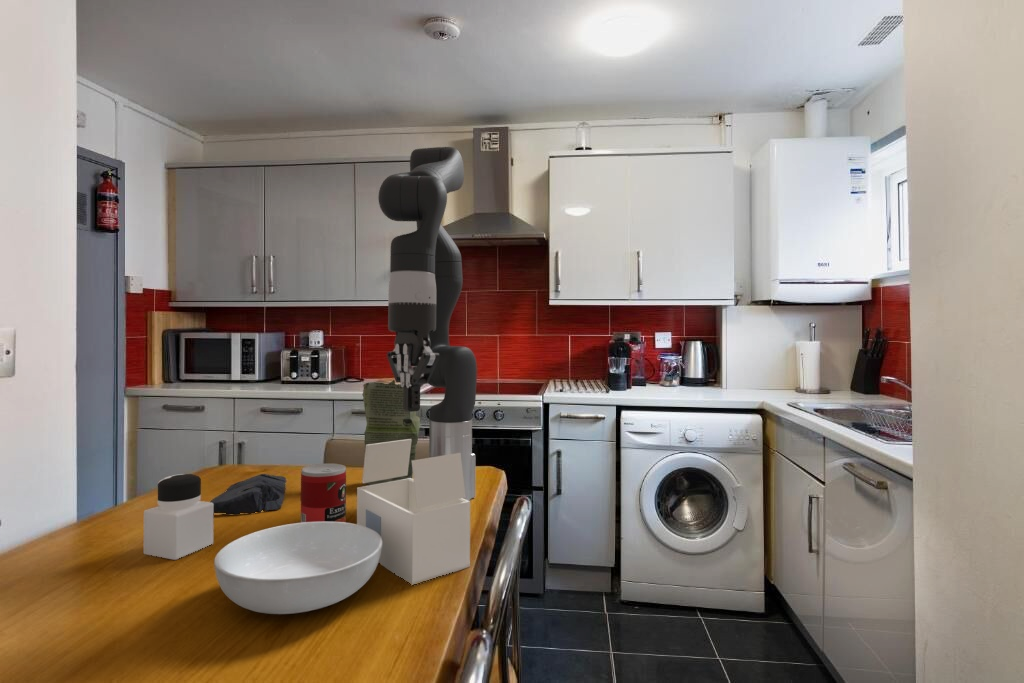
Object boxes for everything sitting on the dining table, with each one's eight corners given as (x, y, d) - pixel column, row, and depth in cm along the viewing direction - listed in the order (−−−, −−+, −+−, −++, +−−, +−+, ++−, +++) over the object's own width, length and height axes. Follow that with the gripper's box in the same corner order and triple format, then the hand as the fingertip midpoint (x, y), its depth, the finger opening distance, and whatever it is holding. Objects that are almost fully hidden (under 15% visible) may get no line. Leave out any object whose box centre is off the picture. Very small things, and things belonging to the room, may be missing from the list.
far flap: (407, 475, 95) (406, 474, 95) (411, 439, 94) (410, 438, 94) (362, 483, 89) (362, 482, 89) (366, 445, 88) (365, 444, 88)
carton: (409, 534, 96) (410, 477, 96) (469, 566, 82) (470, 501, 82) (356, 548, 89) (356, 487, 89) (411, 586, 75) (412, 515, 75)
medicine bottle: (214, 544, 90) (214, 473, 90) (175, 561, 83) (175, 484, 83) (182, 539, 92) (183, 469, 92) (142, 554, 86) (142, 479, 86)
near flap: (416, 508, 76) (417, 508, 76) (411, 460, 77) (412, 460, 77) (464, 497, 82) (465, 497, 81) (459, 452, 83) (460, 452, 82)
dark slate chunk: (296, 485, 128) (297, 465, 128) (279, 515, 107) (279, 491, 107) (226, 489, 125) (227, 469, 125) (193, 520, 103) (194, 495, 103)
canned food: (332, 537, 94) (332, 474, 94) (291, 533, 96) (291, 471, 96) (353, 522, 101) (354, 464, 101) (315, 519, 103) (315, 462, 103)
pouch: (356, 484, 128) (357, 379, 128) (397, 475, 137) (397, 377, 137) (385, 493, 120) (385, 382, 120) (426, 483, 129) (426, 379, 129)
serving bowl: (386, 623, 66) (387, 567, 65) (193, 651, 60) (193, 589, 60) (378, 557, 85) (378, 514, 85) (233, 573, 79) (233, 526, 79)
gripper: (455, 301, 83) (454, 413, 83) (412, 305, 93) (411, 405, 93) (413, 298, 78) (412, 417, 78) (371, 302, 88) (370, 408, 88)
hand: (411, 410), depth 85 cm, fingers closed
